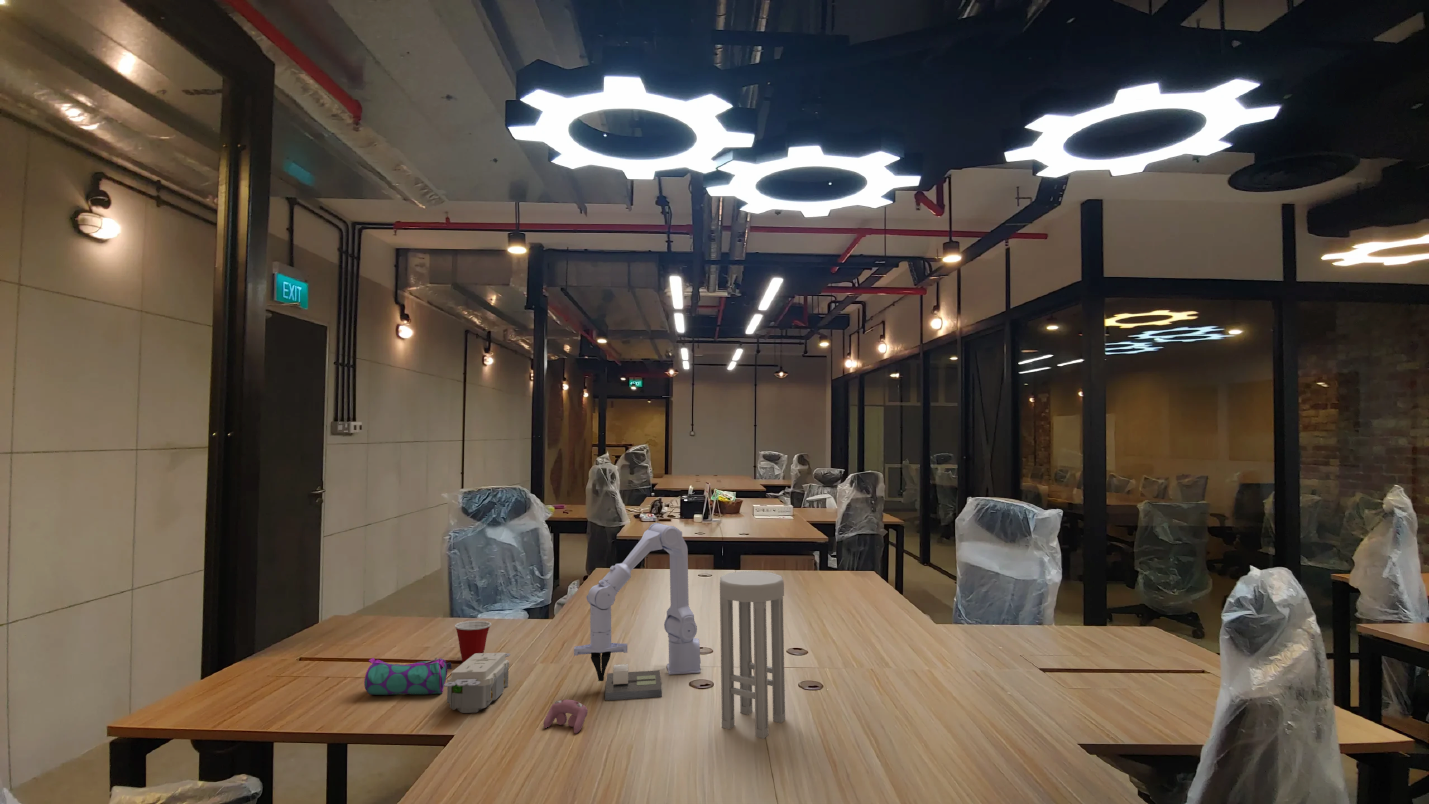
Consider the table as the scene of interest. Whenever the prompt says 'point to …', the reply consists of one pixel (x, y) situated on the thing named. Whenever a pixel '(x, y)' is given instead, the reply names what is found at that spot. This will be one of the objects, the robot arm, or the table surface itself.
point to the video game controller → (559, 713)
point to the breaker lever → (620, 674)
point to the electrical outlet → (477, 682)
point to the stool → (758, 591)
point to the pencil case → (406, 677)
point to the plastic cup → (472, 637)
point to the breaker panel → (635, 686)
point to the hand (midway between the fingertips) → (601, 679)
